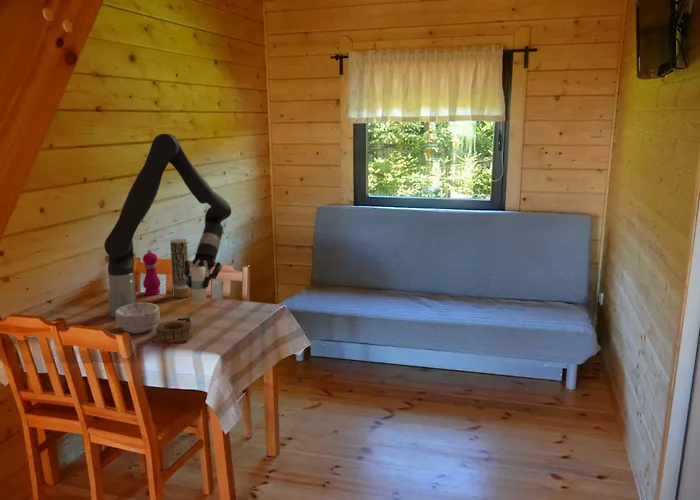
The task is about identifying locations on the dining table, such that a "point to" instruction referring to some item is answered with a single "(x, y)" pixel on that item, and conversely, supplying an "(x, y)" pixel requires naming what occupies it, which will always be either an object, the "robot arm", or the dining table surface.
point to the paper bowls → (137, 317)
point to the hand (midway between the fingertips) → (196, 287)
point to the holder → (173, 332)
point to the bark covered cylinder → (179, 267)
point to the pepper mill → (151, 274)
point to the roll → (198, 283)
